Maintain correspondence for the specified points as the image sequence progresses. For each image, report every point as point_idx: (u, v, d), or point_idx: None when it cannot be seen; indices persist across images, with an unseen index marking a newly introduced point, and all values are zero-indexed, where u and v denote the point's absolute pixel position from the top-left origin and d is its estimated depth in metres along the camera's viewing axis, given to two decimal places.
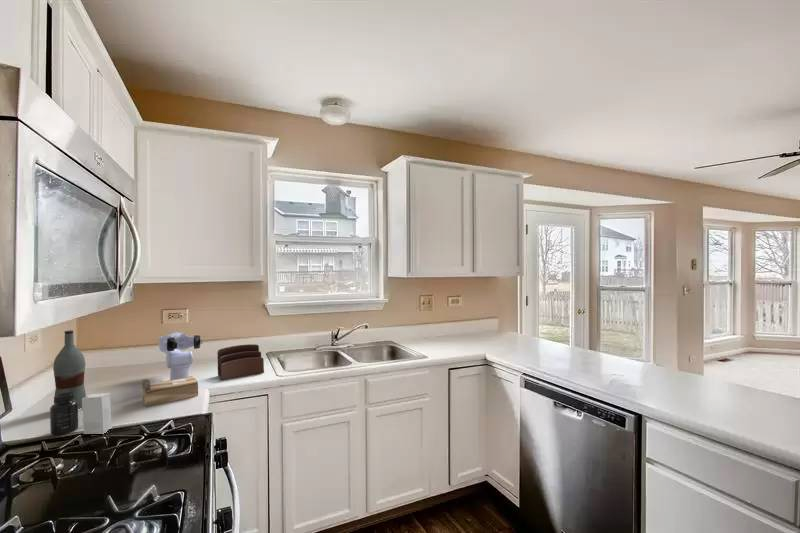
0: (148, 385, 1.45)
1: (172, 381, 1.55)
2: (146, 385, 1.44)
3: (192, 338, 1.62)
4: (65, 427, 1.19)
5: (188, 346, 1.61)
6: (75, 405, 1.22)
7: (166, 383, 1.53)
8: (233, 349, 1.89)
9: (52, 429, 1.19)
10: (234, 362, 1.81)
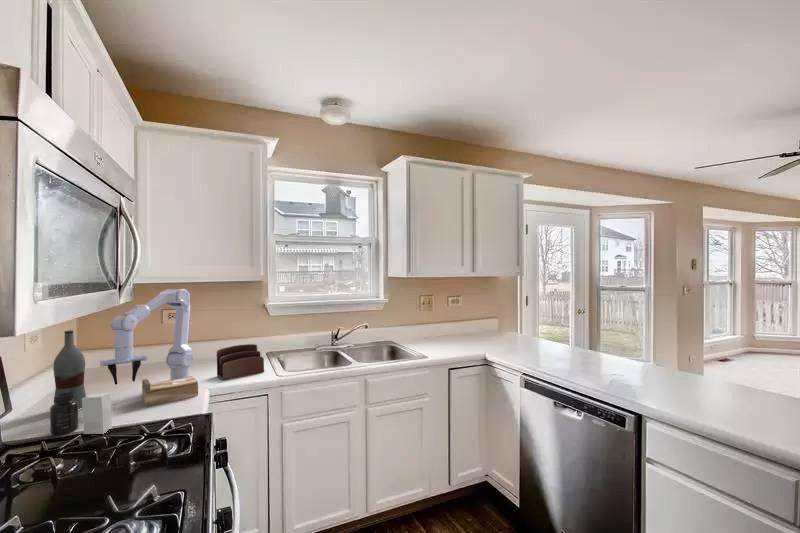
0: (148, 385, 1.45)
1: (172, 381, 1.55)
2: (146, 385, 1.44)
3: (135, 359, 1.45)
4: (65, 427, 1.19)
5: None
6: (75, 405, 1.22)
7: (166, 383, 1.53)
8: (232, 349, 1.89)
9: (52, 429, 1.19)
10: (235, 362, 1.81)
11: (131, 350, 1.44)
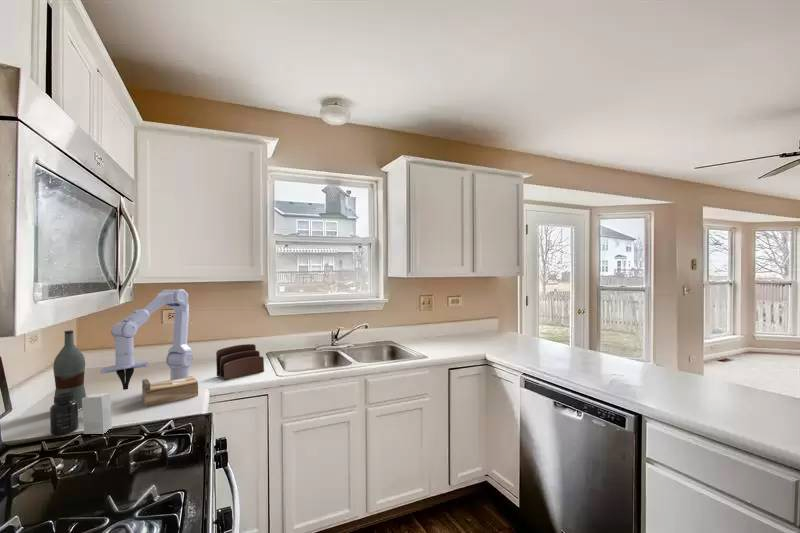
0: (148, 385, 1.45)
1: (172, 381, 1.55)
2: (146, 385, 1.44)
3: (136, 365, 1.45)
4: (65, 427, 1.19)
5: None
6: (75, 405, 1.22)
7: (166, 383, 1.53)
8: (232, 349, 1.89)
9: (52, 429, 1.19)
10: (236, 362, 1.81)
11: (132, 356, 1.44)
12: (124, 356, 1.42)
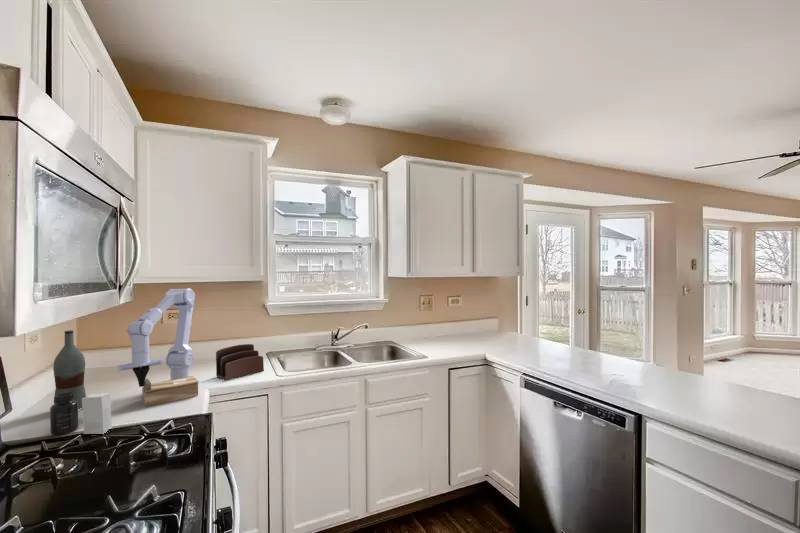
0: (149, 385, 1.45)
1: (173, 381, 1.56)
2: (147, 385, 1.44)
3: (151, 363, 1.48)
4: (65, 427, 1.19)
5: None
6: (75, 405, 1.22)
7: (167, 383, 1.53)
8: (231, 349, 1.88)
9: (52, 429, 1.19)
10: (237, 362, 1.82)
11: (147, 354, 1.47)
12: (140, 354, 1.45)
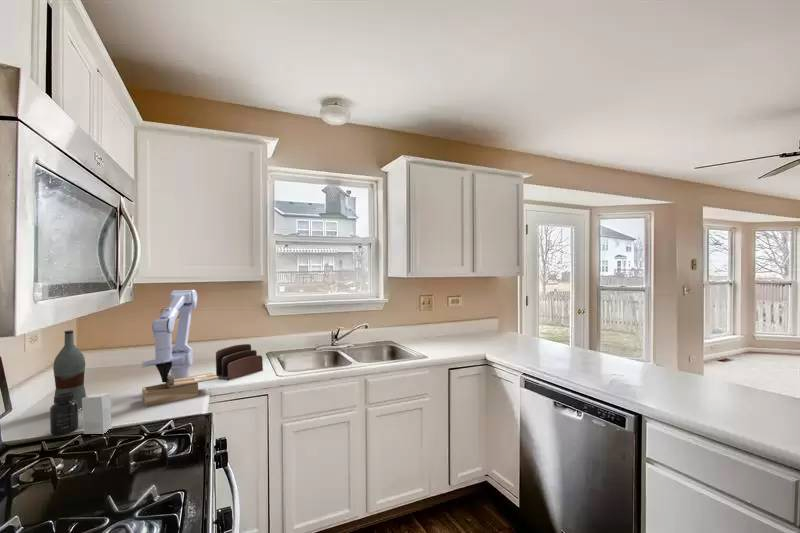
0: (172, 381, 1.50)
1: (194, 377, 1.61)
2: (170, 381, 1.50)
3: (174, 360, 1.53)
4: (65, 427, 1.19)
5: None
6: (75, 405, 1.22)
7: (188, 379, 1.58)
8: (230, 350, 1.88)
9: (52, 429, 1.19)
10: (239, 361, 1.82)
11: (170, 351, 1.52)
12: (163, 351, 1.50)
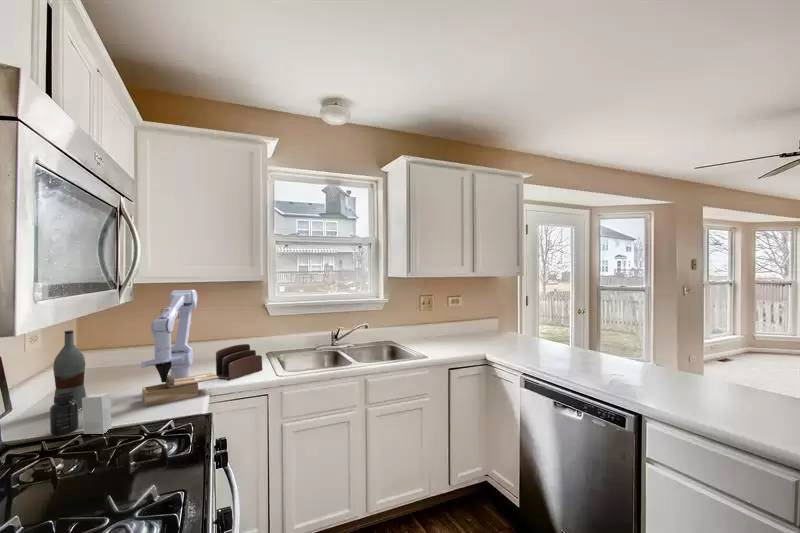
0: (172, 381, 1.50)
1: (194, 377, 1.61)
2: (170, 381, 1.50)
3: (173, 360, 1.53)
4: (65, 427, 1.19)
5: None
6: (75, 405, 1.22)
7: (188, 379, 1.58)
8: (230, 350, 1.88)
9: (52, 429, 1.19)
10: (239, 361, 1.82)
11: (169, 351, 1.52)
12: (163, 351, 1.50)
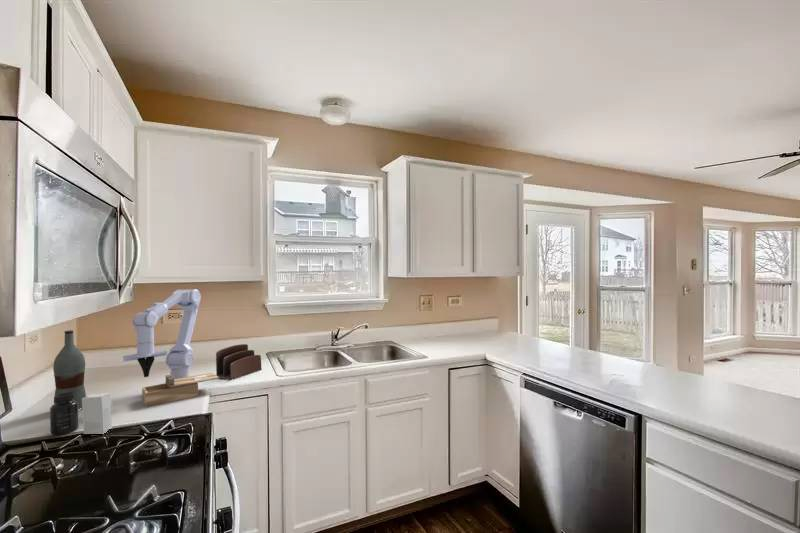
0: (172, 381, 1.50)
1: (194, 377, 1.61)
2: (170, 381, 1.50)
3: (156, 354, 1.51)
4: (65, 427, 1.19)
5: None
6: (75, 405, 1.22)
7: (188, 379, 1.58)
8: (229, 350, 1.87)
9: (52, 429, 1.19)
10: (240, 361, 1.83)
11: (152, 345, 1.50)
12: (145, 345, 1.48)
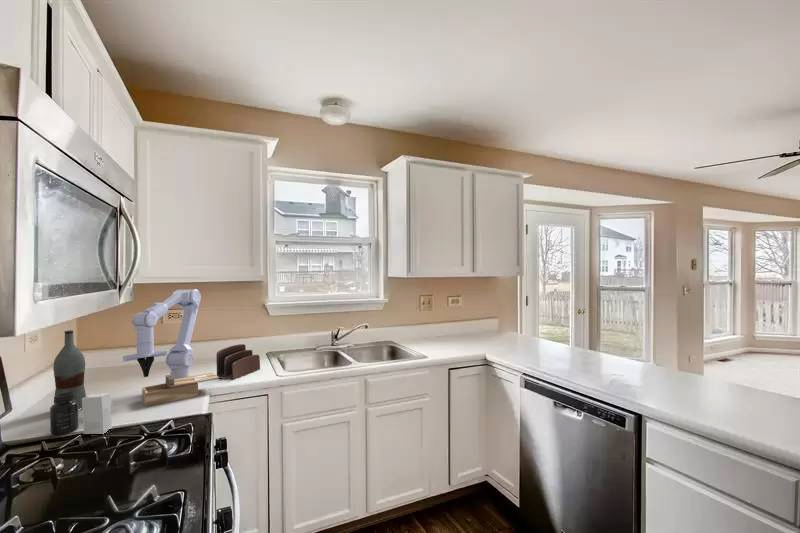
0: (172, 381, 1.50)
1: (194, 377, 1.61)
2: (170, 381, 1.50)
3: (156, 354, 1.51)
4: (65, 427, 1.19)
5: None
6: (75, 405, 1.22)
7: (188, 379, 1.58)
8: (228, 350, 1.87)
9: (52, 429, 1.19)
10: (241, 361, 1.83)
11: (152, 345, 1.50)
12: (145, 345, 1.48)
